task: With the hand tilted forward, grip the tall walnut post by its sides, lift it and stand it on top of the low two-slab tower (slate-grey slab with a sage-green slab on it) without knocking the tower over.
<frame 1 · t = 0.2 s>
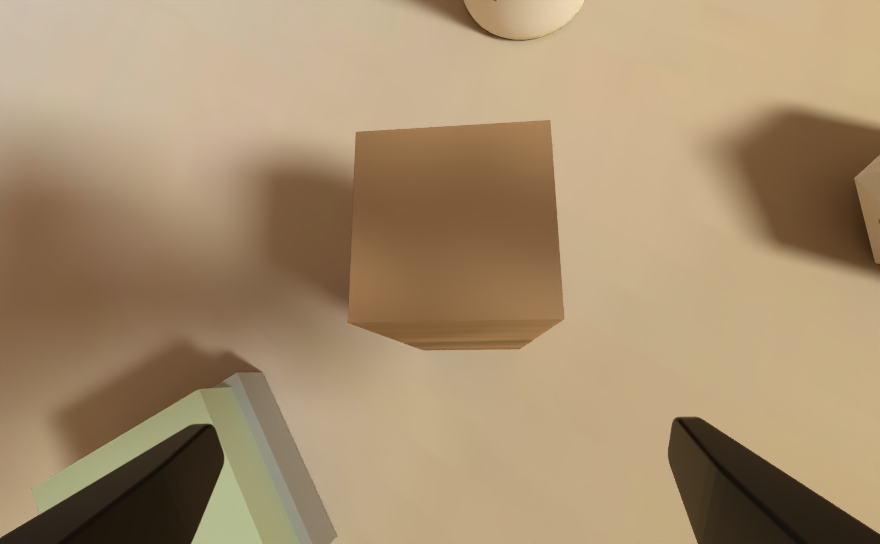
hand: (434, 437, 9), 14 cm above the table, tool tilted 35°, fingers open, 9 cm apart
tower base slab: (221, 496, 22), on the table
tower top slab: (189, 511, 20), point 2 cm above the table, touching tower base slab
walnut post: (469, 301, 23), on the table
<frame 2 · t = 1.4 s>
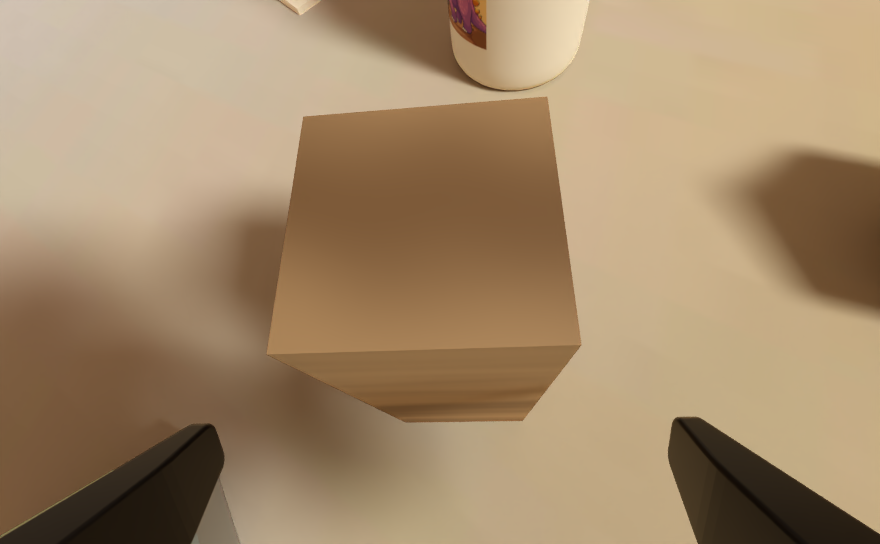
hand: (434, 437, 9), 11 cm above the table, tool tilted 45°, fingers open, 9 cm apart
milk bottle: (514, 51, 27), on the table
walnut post: (462, 363, 20), on the table
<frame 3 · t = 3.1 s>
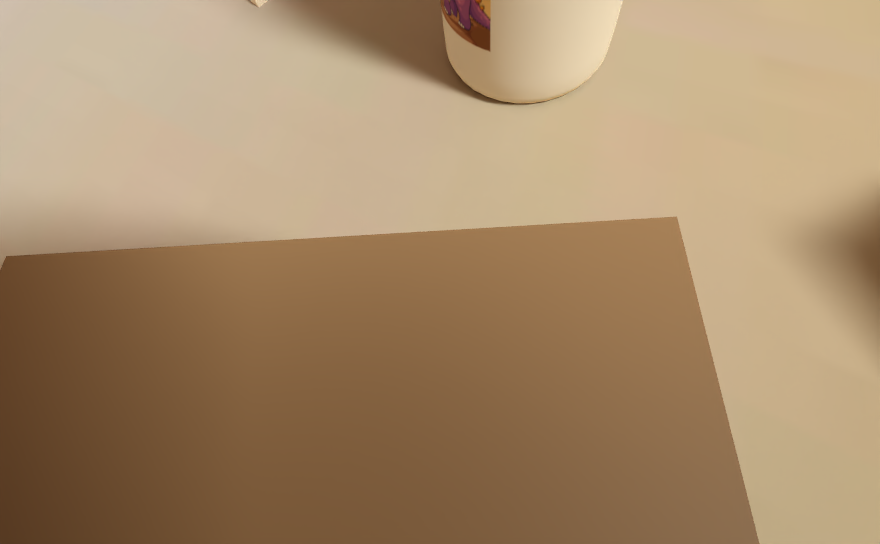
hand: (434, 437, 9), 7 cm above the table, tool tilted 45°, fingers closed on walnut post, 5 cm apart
milk bottle: (524, 52, 22), on the table
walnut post: (457, 493, 14), on the table, touching gripper
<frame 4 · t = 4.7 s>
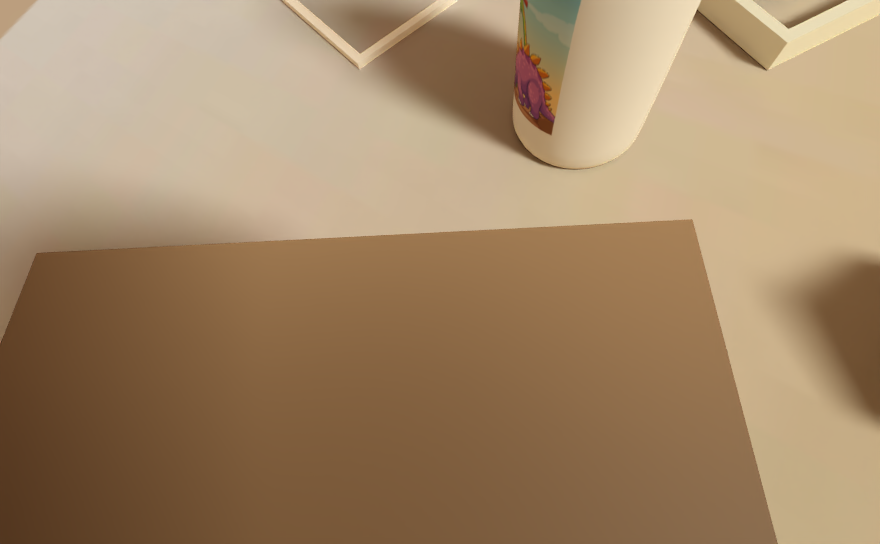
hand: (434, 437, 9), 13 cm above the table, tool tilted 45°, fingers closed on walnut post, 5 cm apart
milk bottle: (573, 124, 28), on the table
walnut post: (458, 491, 14), point 7 cm above the table, touching gripper
when the fingers open (12 cm above the table, at t = 6.6 s): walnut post stays where it is, resting on tower top slab.
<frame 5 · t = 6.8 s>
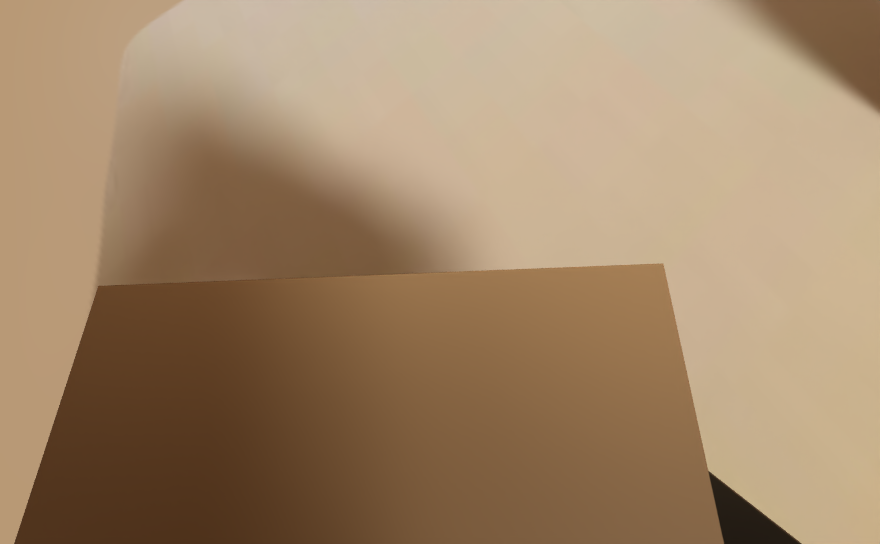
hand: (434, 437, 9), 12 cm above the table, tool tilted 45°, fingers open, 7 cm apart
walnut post: (459, 490, 15), point 5 cm above the table, touching tower top slab
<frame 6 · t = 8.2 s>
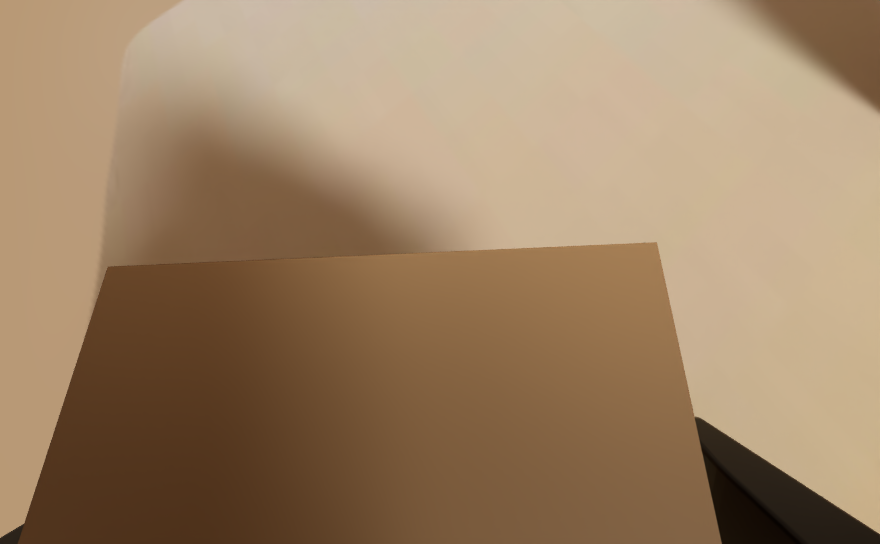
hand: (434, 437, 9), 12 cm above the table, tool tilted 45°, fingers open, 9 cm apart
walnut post: (459, 484, 15), point 5 cm above the table, touching tower top slab
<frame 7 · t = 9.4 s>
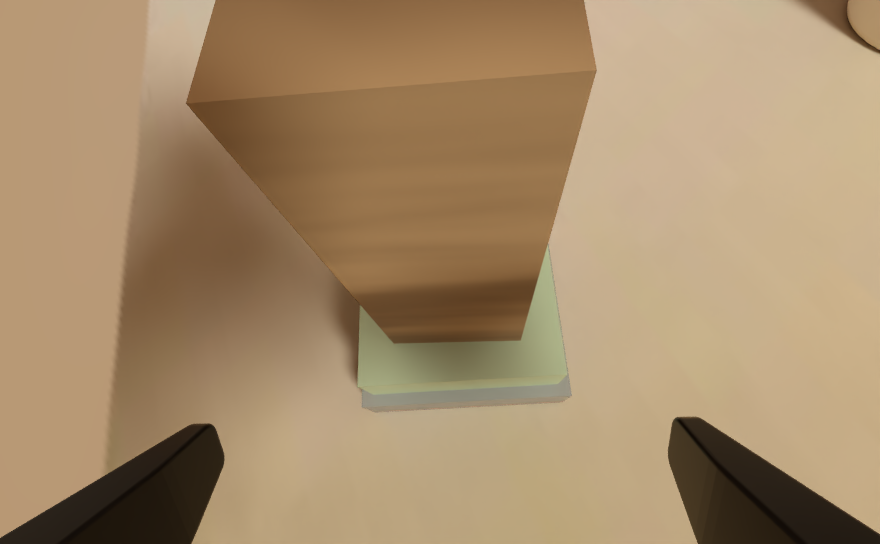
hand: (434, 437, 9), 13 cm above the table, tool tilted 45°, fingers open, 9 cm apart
tower base slab: (461, 317, 23), on the table
tower top slab: (458, 301, 20), point 2 cm above the table, touching tower base slab, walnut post
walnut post: (455, 282, 18), point 5 cm above the table, touching tower top slab
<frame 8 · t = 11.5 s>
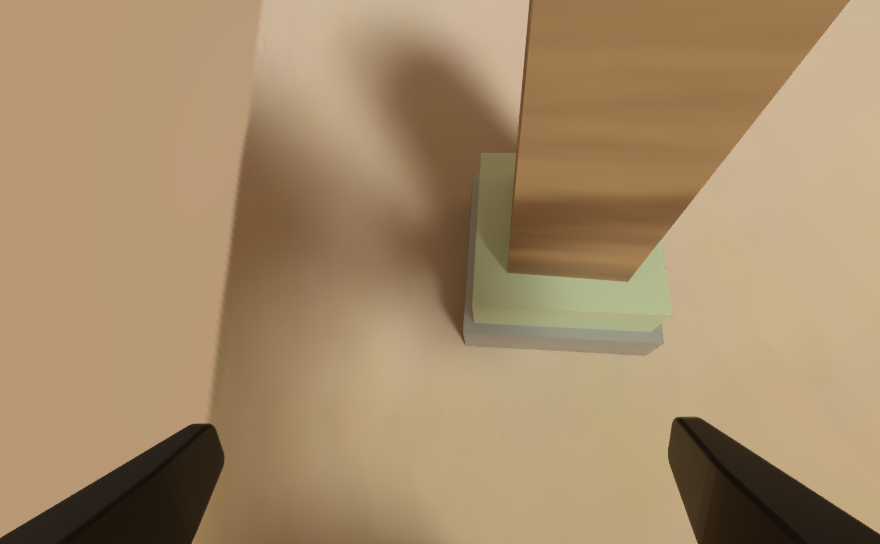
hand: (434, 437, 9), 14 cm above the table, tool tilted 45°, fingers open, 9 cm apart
tower base slab: (551, 269, 24), on the table
tower top slab: (558, 249, 22), point 2 cm above the table, touching tower base slab, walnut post
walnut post: (567, 225, 20), point 5 cm above the table, touching tower top slab
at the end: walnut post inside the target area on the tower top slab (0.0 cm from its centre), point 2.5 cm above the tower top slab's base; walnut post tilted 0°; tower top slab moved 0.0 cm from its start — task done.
